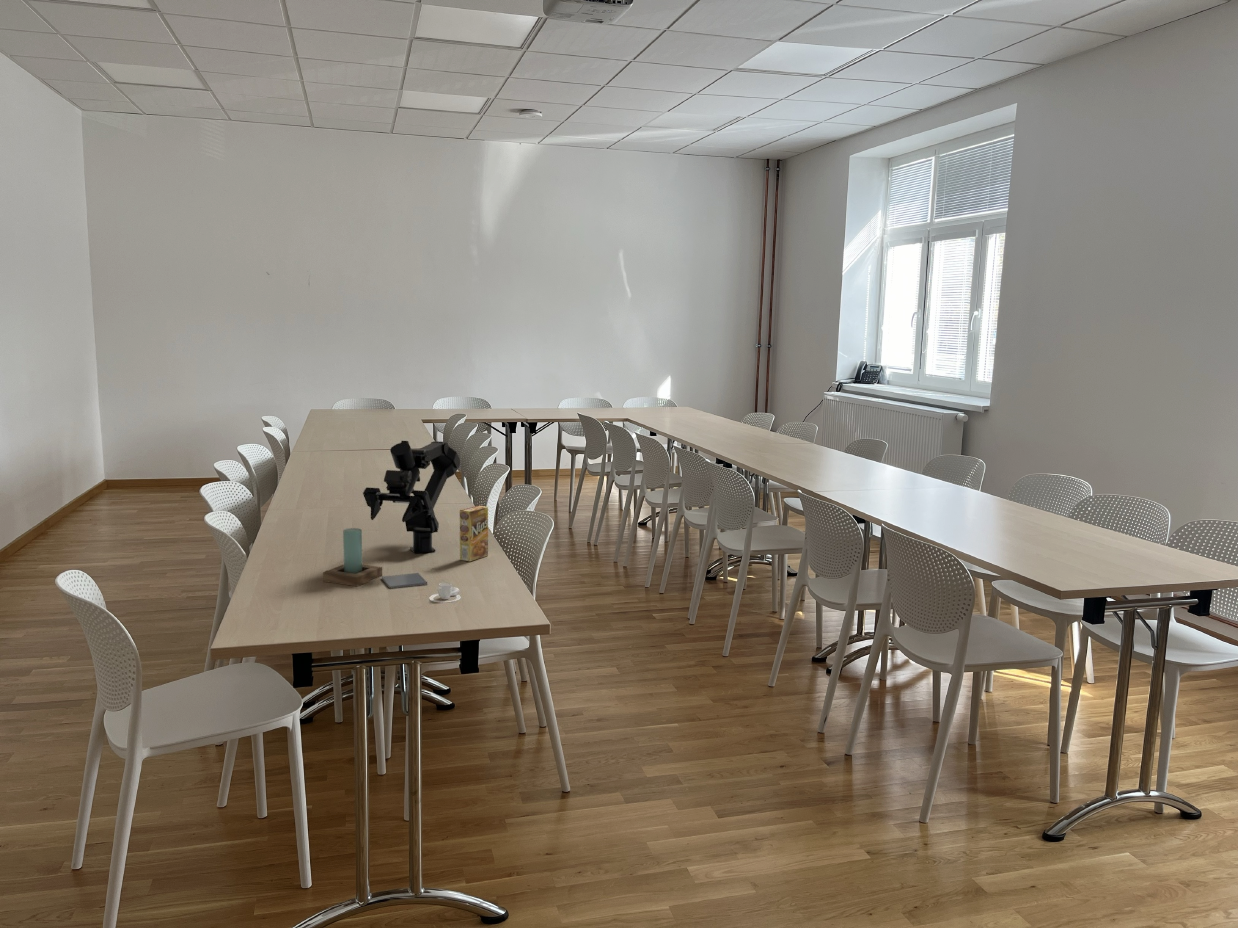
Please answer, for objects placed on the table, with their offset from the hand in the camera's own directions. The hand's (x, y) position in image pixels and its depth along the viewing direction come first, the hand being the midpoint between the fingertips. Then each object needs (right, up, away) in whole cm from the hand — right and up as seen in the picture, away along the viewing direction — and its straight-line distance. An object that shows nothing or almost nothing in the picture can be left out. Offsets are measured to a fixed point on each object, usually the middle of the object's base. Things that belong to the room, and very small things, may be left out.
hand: (387, 520), depth 241 cm
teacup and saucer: (+23, -19, -19) cm, 35 cm away
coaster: (+6, -16, -6) cm, 19 cm away
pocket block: (-8, -16, -4) cm, 18 cm away
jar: (-8, -16, -4) cm, 18 cm away
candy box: (+21, -13, +20) cm, 32 cm away
